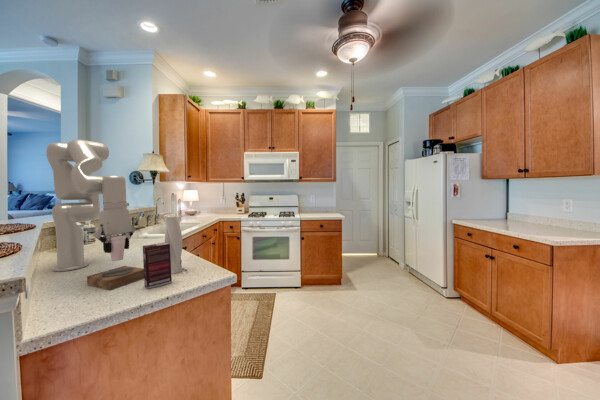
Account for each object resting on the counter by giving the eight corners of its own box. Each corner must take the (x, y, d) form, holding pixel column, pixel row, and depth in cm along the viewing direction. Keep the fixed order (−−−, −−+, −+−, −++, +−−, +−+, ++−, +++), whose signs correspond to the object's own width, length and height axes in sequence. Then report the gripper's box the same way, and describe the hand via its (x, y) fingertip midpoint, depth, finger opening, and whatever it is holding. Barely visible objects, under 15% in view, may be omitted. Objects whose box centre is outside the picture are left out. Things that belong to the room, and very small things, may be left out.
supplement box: (168, 280, 98) (166, 241, 98) (172, 283, 95) (170, 243, 94) (143, 286, 92) (142, 245, 92) (146, 289, 89) (145, 247, 88)
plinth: (87, 285, 94) (87, 275, 94) (124, 273, 107) (124, 264, 107) (110, 290, 89) (109, 279, 88) (146, 277, 102) (146, 268, 101)
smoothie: (131, 257, 100) (130, 224, 100) (118, 262, 94) (116, 226, 93) (117, 257, 101) (115, 224, 100) (103, 261, 94) (101, 226, 94)
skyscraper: (188, 271, 109) (186, 210, 108) (169, 276, 103) (167, 211, 102) (180, 268, 115) (178, 209, 114) (162, 272, 109) (160, 211, 108)
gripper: (130, 205, 106) (132, 245, 107) (83, 207, 90) (86, 255, 91) (142, 205, 103) (144, 246, 104) (95, 208, 87) (98, 256, 88)
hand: (117, 250), depth 97 cm, fingers closed on smoothie, 6 cm apart
